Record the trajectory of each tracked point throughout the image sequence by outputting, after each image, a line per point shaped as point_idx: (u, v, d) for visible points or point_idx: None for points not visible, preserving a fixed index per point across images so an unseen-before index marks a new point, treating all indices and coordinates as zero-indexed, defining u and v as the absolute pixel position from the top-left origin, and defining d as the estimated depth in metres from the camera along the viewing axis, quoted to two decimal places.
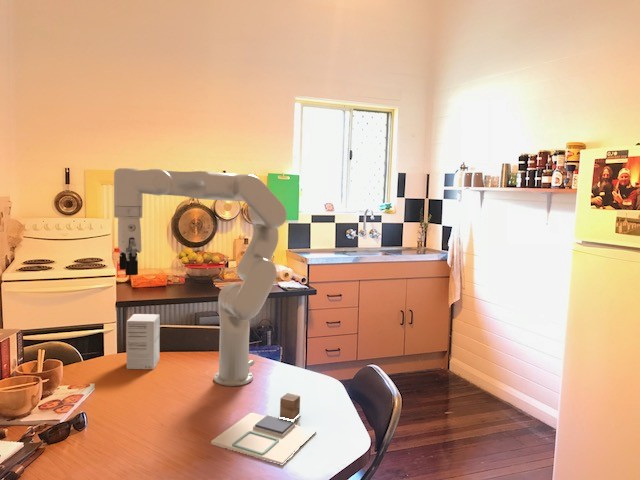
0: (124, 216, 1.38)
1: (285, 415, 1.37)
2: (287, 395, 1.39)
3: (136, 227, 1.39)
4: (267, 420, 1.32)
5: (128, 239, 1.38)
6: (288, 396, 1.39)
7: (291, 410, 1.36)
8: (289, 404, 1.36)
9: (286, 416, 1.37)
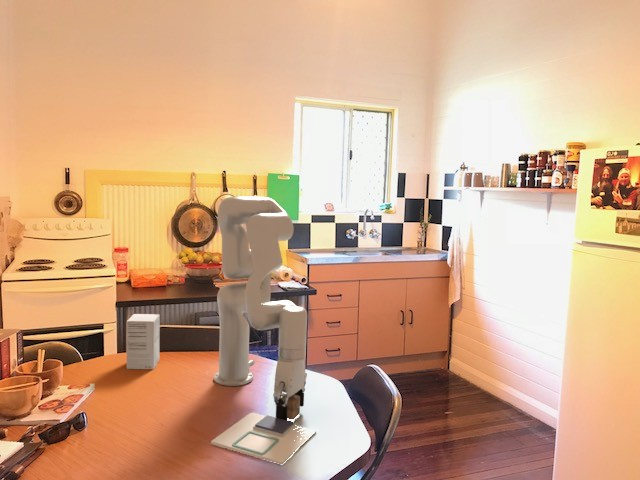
0: None
1: None
2: None
3: None
4: (267, 420, 1.32)
5: None
6: None
7: (291, 410, 1.36)
8: (289, 404, 1.36)
9: None
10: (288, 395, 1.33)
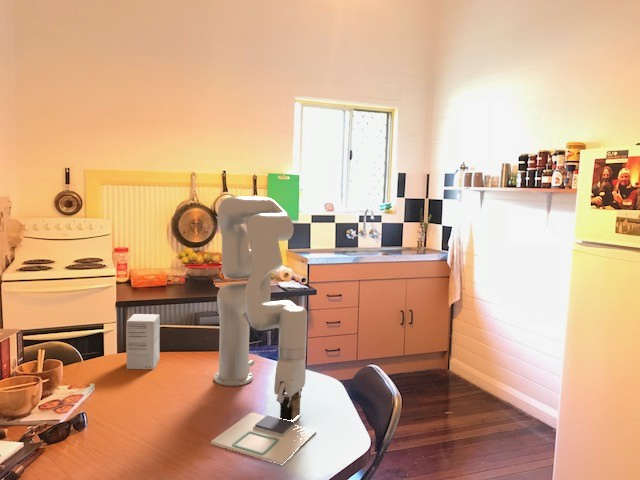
0: None
1: None
2: None
3: None
4: (267, 420, 1.32)
5: None
6: None
7: None
8: None
9: None
10: (288, 395, 1.33)
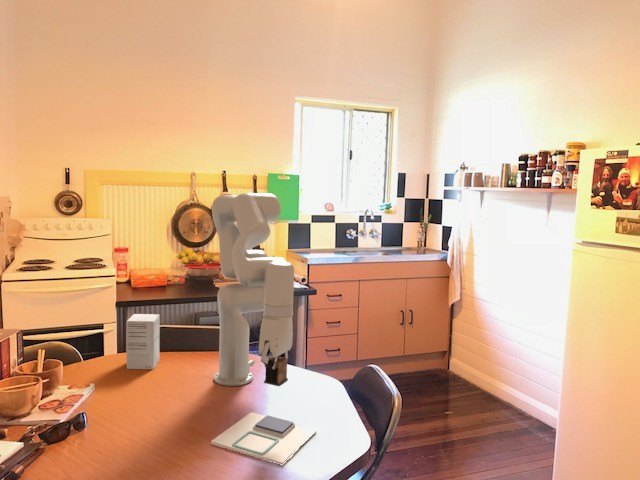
0: None
1: None
2: None
3: None
4: (267, 420, 1.32)
5: None
6: None
7: None
8: None
9: None
10: (273, 355, 1.24)
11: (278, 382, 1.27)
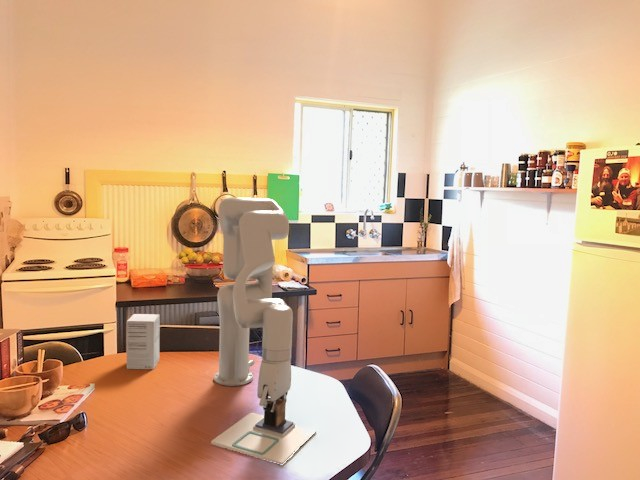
0: None
1: None
2: None
3: None
4: None
5: None
6: None
7: (276, 415, 1.28)
8: None
9: None
10: (272, 399, 1.25)
11: (276, 424, 1.28)
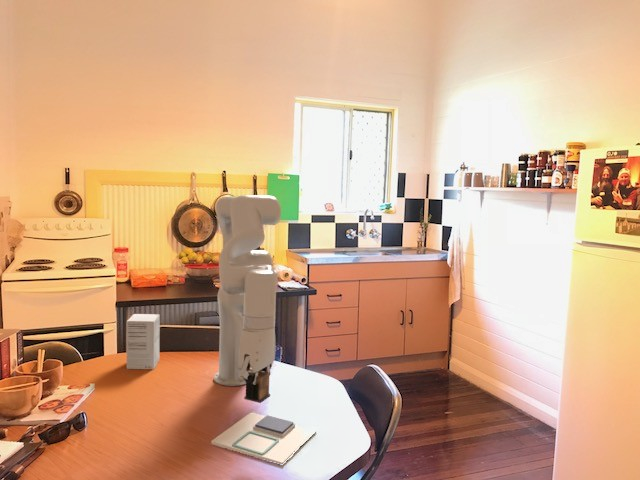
0: None
1: None
2: None
3: None
4: (267, 420, 1.32)
5: None
6: None
7: None
8: None
9: None
10: (254, 370, 1.16)
11: (259, 398, 1.19)
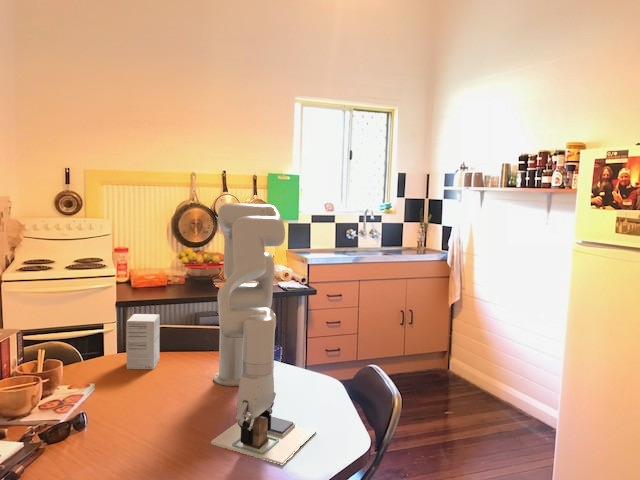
0: None
1: None
2: None
3: None
4: None
5: None
6: None
7: (257, 435, 1.20)
8: (254, 428, 1.20)
9: None
10: (252, 416, 1.17)
11: (258, 445, 1.21)
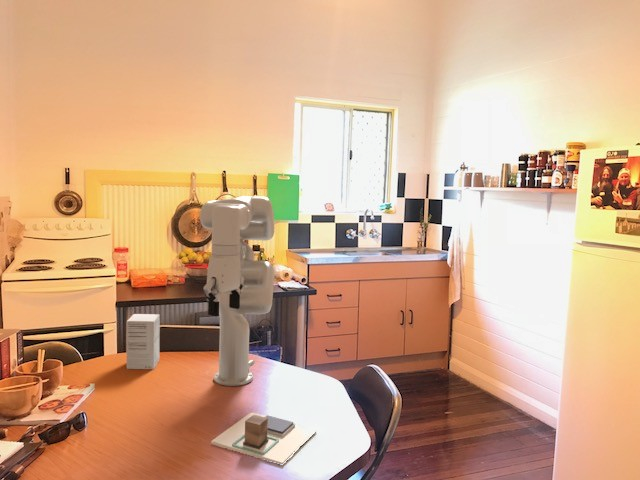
0: None
1: (250, 440, 1.21)
2: (253, 417, 1.23)
3: None
4: None
5: None
6: (254, 418, 1.23)
7: (257, 435, 1.20)
8: (254, 428, 1.20)
9: (251, 441, 1.21)
10: (220, 291, 1.34)
11: (258, 445, 1.21)
